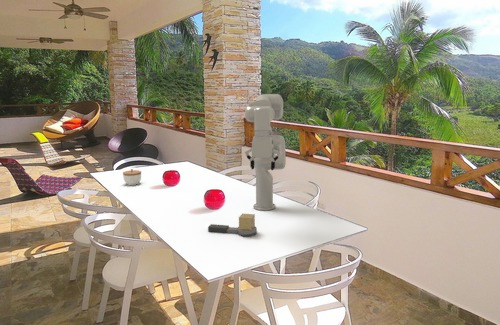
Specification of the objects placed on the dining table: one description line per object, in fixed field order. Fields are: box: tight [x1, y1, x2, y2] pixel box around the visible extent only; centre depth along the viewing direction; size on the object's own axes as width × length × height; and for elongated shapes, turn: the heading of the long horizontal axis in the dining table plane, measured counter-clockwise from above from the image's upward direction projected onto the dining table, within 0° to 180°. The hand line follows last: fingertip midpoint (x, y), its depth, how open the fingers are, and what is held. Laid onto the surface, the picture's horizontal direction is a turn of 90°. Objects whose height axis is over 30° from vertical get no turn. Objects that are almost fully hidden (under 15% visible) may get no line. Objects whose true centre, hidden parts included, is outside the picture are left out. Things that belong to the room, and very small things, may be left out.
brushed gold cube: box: [238, 213, 256, 231], centre depth 186 cm, size 6×6×6 cm
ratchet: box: [207, 223, 258, 238], centre depth 188 cm, size 9×23×6 cm, turn 75°
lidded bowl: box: [122, 169, 142, 186], centre depth 286 cm, size 13×13×11 cm
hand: (262, 169), depth 192 cm, fingers open, 9 cm apart
